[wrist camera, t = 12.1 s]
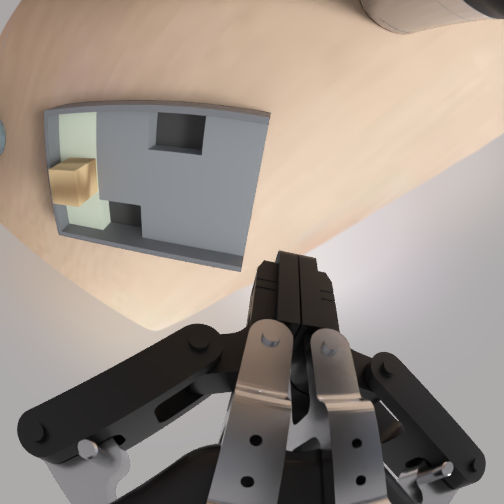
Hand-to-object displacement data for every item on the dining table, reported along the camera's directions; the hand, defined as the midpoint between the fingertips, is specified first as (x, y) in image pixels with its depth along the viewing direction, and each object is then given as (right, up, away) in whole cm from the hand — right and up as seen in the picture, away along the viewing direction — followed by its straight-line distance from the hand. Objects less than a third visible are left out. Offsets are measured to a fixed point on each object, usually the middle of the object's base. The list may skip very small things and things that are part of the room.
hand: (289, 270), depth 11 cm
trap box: (-16, +12, +24) cm, 31 cm away
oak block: (-25, +12, +21) cm, 35 cm away
